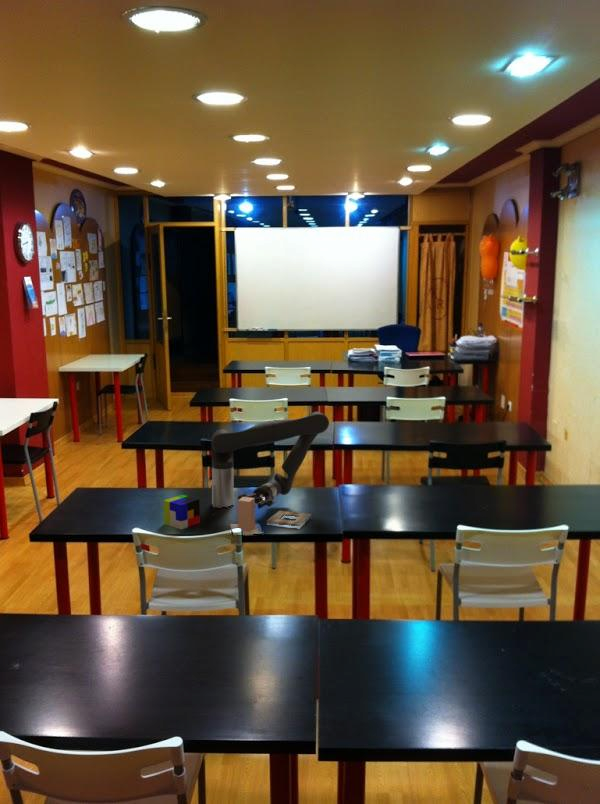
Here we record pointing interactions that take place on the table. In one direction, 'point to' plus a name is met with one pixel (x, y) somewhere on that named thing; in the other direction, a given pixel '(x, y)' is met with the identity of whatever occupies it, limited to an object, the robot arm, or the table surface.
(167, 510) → the puzzle toy
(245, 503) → the terracotta block
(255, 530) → the grey pad
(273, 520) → the puzzle board
